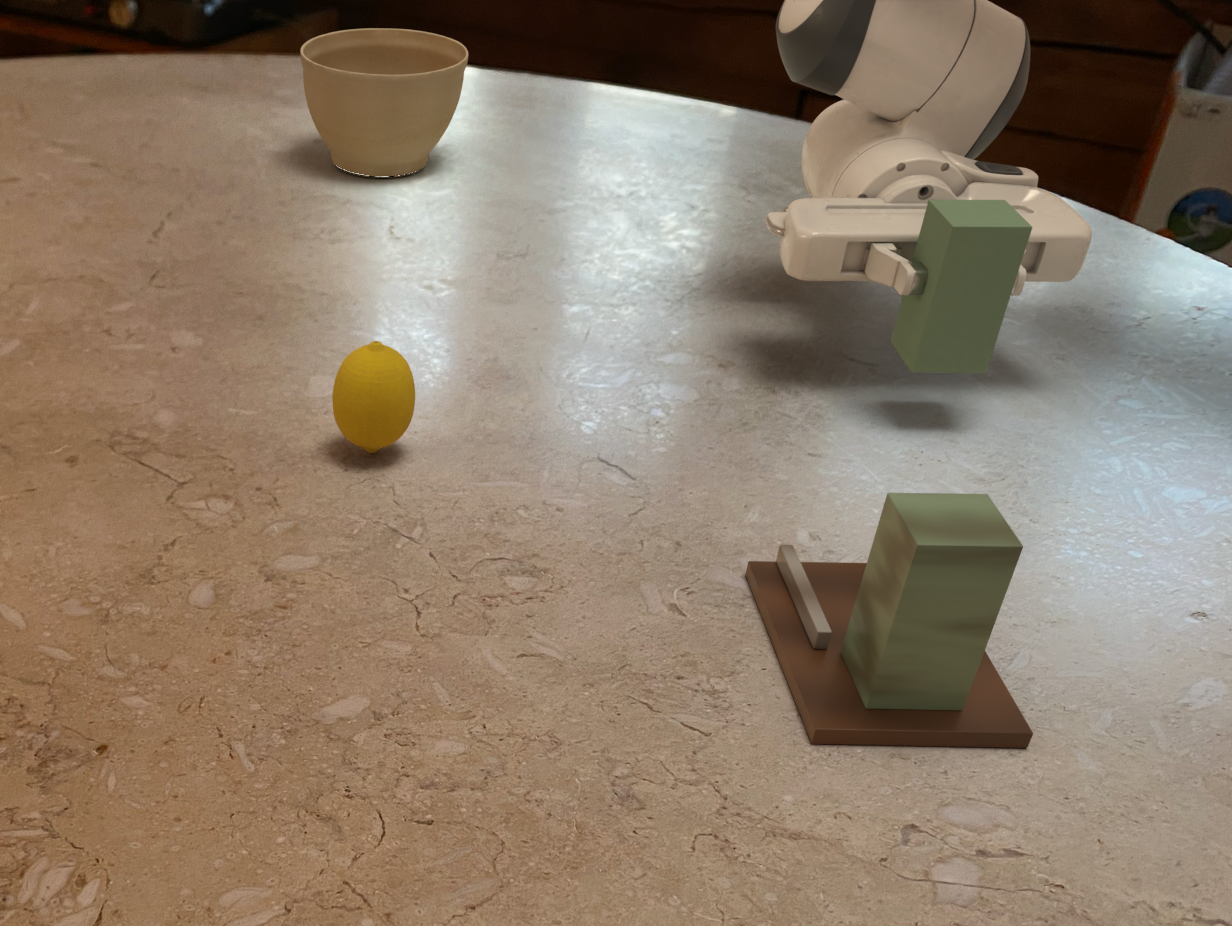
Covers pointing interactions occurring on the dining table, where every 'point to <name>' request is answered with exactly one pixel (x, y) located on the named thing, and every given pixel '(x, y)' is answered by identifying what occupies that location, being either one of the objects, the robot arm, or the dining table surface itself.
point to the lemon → (373, 396)
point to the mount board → (837, 689)
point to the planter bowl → (382, 95)
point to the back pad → (961, 285)
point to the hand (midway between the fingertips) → (965, 284)
